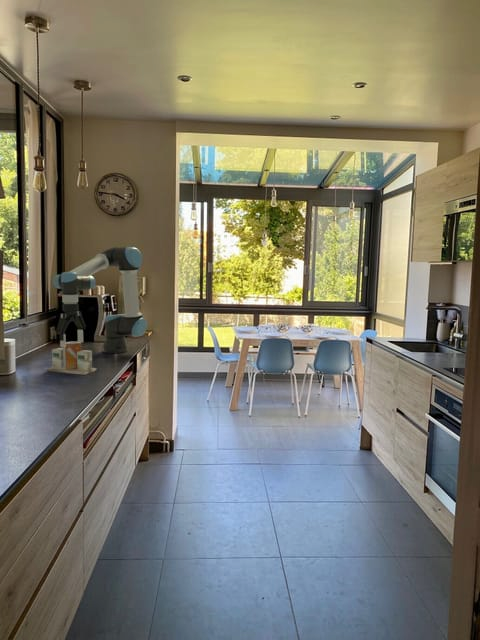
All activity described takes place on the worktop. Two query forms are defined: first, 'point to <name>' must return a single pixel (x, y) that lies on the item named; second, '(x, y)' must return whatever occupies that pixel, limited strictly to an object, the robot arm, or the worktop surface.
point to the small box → (71, 354)
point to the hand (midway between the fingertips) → (72, 344)
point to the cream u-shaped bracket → (82, 362)
